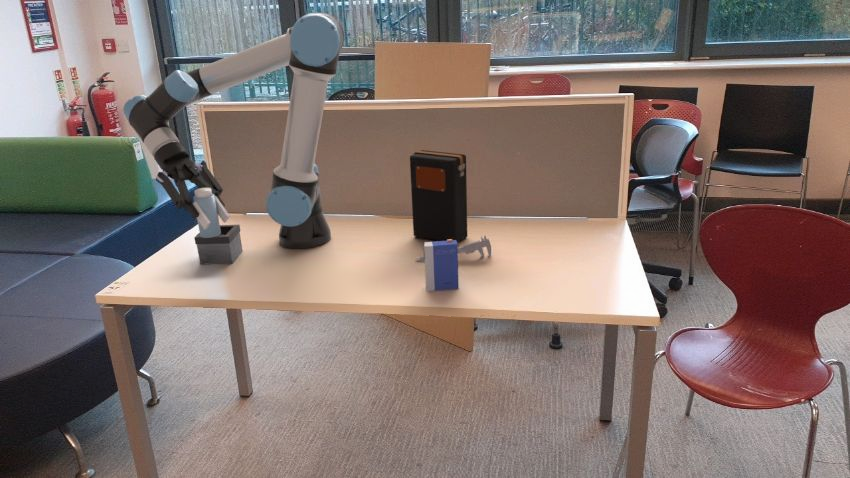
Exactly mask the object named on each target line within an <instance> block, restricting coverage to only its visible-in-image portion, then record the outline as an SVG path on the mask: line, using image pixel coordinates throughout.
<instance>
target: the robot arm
mask: <svg viewBox="0 0 850 478" xmlns="http://www.w3.org/2000/svg"><path fill="white" fill-rule="evenodd" d="M344 43H345V31H344V28H343V26H342V24H341V22H340V21H339V20H338V18H336V17H335V16H333V15H332V14H330V13H326V12H311V13H307V14H305V15H302V16H300V18H299V19H298V20H296V22H295V23H294V24H293V26H291V27H289V28H287V30H286V32H285V33H284V34H282V35H279V36H277V37H274V38H271V39H269V40H267V41H264V42H262V43H259V44H257V45H254V46H251V47H249V48H246V49H244V50H241V51H239V52H237V53H234V54H231V55H228V56H227V57H226V56H225V57H224V58H221V59H218V60H216V61H214V62H211V63H208V64H206V65H204V66H201V67H198V68H196V69H193V70H191V71H188V72H185V71H182V70H180V69H176V70H174V71H173V72H171V74H169V75H167V76H166V78H165V79H164V80H163V81H162V82H161V83H160V84H159V85H158V86H157V88H155V89H154V90H153V92H151V93H150V95H144V94H138V95H134V96H133V97H132V98H129V99H128V100H127V101H125V103H124V105H123V107H122V108H123V109H122V111H123V114H124V116H125V118H126V120H127V121H128V124H129V126H130V127H132V128H133V130H134V131H135V133H136V134H137V135H138V137H139V138H140V140H141V141H142V143H143V144H144V146H145V147H146V149H147V151H148V152H149V153H150V155H151V156H152V157H153V159H154V160H155V162H156V163H157V165H158V166H159V168H160V169H161V170H162V171H158V173H157V175H156V177H155V181H156V182H157V183H159V185H161V186H162V187H163V189H164V190H165V192H166V194H167V195H168V196H169V198H170V199H171V201H172V202H173V204H174V205H175V207H176V208H177V209H179V210H181V209H183V210H184V211H188V212H189V214H190V215H191V217H192V218H193V219H196V220H197V219H198V221H199V222H200V224H201V225H202V227H203V228H204V229H207V228H208V226H209V225H210V223H211V222H210V221H209V220H208V218H207V217H206V215H205V214H204V212H203V211H202V209H201V208H200V207H199V205H198V204H197V202H194V201H193V199H192V197H191V194H190V192H189V189H188V186H187V183H186V181H188V182H190V183H191V184H194V185H195V186H196V187H197V189H200V188H211V190H212V194H214V195H215V201H216V207H217V212H218V217H220V218H219V219H221V221H222V222H223V223H227V222H228V220H229V218H230V216H231V215H230V214H229V212H228V210H227V209H226V208H225V207H226V205H225V202H224V201H223V200H222V198H221V197H220V196H221V195H222V193H223V191H224V189H223V188H222V186H221V185H220V183H219V182H218V180H217V179H216V178H215V176H214V175H213V174H212V172H211V171H210V170H209V168H208V165H207V162H206V161H205V160H202V161H200V162H195V161H194V160H192V159H191V158H190V156H189V153H188V151H187V150H186V148H185V147H184V145H183V144H182V143H181V142H180V139H179V137H177V135H176V134H175V132H174V131H173V130H172V129H171V128H170V127H171V126H170V125H169V122H170V121H171V120H172V119H173V118H174V117H175V116H176V115H177V114H178V113H179V112H181V110H183V109H184V108H186V107H187V106H189V105H191V104H193V103H195V102H197V101H200V100H202V99H204V98H207V97H210V96H212V95H215V94H217V93H220V92H223V91H224V90H227V89H230V88H232V87H235V86H238V85H241V84H243V83H246V82H248V81H251V80H254V79H256V78H258V77H261V76H264V75H267V74H270V73H271V72H275V71H277V70H279V69H283V68H285V67H288V66H289V68H290V69H291V71H292V72H293V79H292V86H291V92H290V98H289V105H288V112H287V119H286V125H285V131H284V139H283V145H282V151H281V157H280V164H279V165H278V166H277V167H275V168H274V169H273V172H272V173H273V174H272V179H271V185H270V191H269V193H268V194H267V196H266V202H265V207H266V211H267V214H268V215H269V217H270V218H271V219H272V220H273V221H274V222H275V223H277V224H279V225H280V228H279V231H278V240H279V241H278V242H279V244H280V245H281V246H282V247H285V248H288V249H309V248H314V247H319V246H321V245H324V244H326V243H328V242H329V241H330V240H331V239H332V233H331V228H330V226H329V224H328V221H327V219H326V218H325V217H326V216H325V215H324V213H323V205H322V193H321V185H320V171H319V168H318V165H317V164H316V163H315V161H316V156H317V150H318V143H319V139H320V138H319V137H320V133H321V126H322V121H323V117H324V116H323V115H324V109H325V104H326V99H327V98H326V97H327V91H328V86H329V81H330V80H331V79H332V78H334V77H335V76H336V74H337V71H338V64H339V57H340V52H341V50H342V49H343V47H344ZM172 180H173V182H174V183H173V182H172ZM174 184H175V185H174ZM176 187H177V188H176ZM198 221H197V222H198Z"/></svg>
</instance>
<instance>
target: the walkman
mask: <svg viewBox="0 0 850 478" xmlns="http://www.w3.org/2000/svg"><path fill="white" fill-rule="evenodd" d="M458 245H459V244H458V242H457V241H456V240H452V239H447V241H436V240H435V241H424V244H423V255H424V259H425V261H424V271H425V272H424V273H425V290H426V292H435V291H446V290H459V257H458V256H459V253H458V247H459V246H458Z"/></svg>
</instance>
